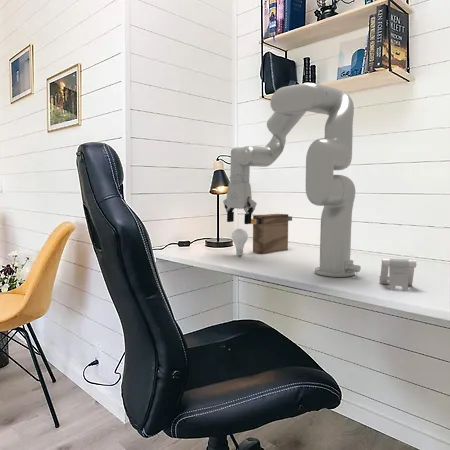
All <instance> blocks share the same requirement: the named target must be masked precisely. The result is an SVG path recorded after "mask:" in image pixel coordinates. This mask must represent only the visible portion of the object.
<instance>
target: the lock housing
mask: <svg viewBox="0 0 450 450" xmlns="http://www.w3.org/2000/svg"><path fill="white" fill-rule="evenodd" d="M288 216H289V214H287V213H268V214H256V215H255V214H254V215H252V219H260V218H261V224H252V253H255V254H262V255H266V254H272V253H277V252H284V251H289V221H288Z"/></svg>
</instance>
